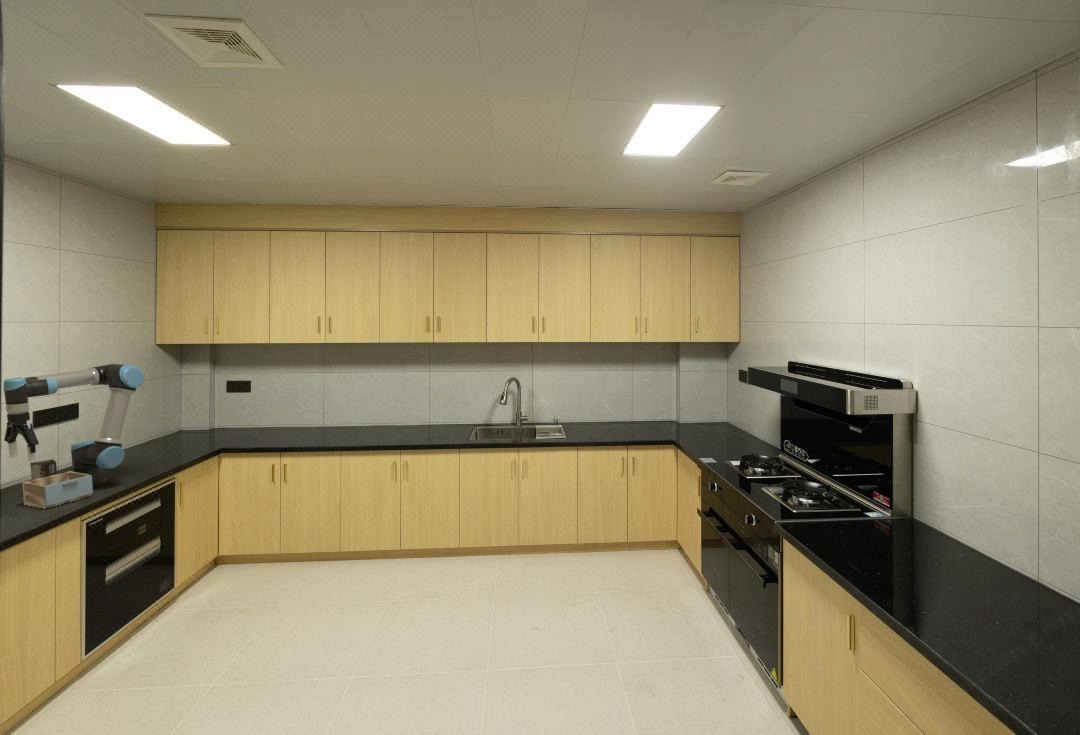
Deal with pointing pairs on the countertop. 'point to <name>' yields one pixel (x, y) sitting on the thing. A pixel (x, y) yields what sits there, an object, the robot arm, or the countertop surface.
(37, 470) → the coffee box
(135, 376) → the robot arm
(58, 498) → the panel
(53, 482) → the crate
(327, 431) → the countertop surface
